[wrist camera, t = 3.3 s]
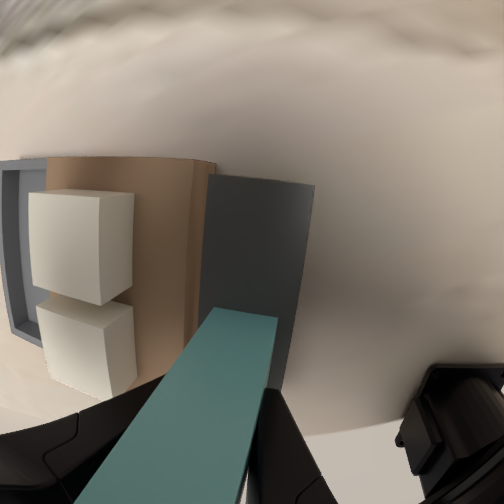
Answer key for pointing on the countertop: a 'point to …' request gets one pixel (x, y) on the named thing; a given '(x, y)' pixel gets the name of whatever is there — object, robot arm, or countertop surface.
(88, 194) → the tile
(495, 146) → the countertop surface
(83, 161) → the walnut board
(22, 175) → the box
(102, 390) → the tile
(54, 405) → the countertop surface
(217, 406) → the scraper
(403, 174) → the countertop surface
